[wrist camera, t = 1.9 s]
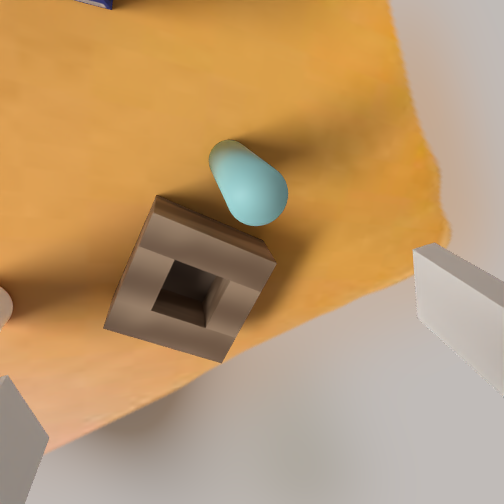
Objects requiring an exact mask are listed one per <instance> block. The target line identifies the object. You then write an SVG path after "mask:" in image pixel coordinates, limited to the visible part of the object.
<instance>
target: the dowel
mask: <svg viewBox="0 0 504 504" xmlns="http://www.w3.org/2000/svg"><path fill="white" fill-rule="evenodd" d="M209 166H210V169H211V171H212V173H213V176H214V178H215V180H216V182H217V184H218V186H219V188H220V191H221V193H222V195H223V197H224V199H225V201H226V203H227V206H228V208H229V210H230V212H231V213H232V215H233V216H234V217H235V218H236V219H237V220H238V221H240V222H242V223H244V224H246V225H250V226H261V225H265V224H268V223H270V222H272V221H274V220H275V219H276V218H277V217H278V216H279V215H280V214H281V213H282V212H283V210H284V208H285V206H286V203H287V199H288V188H287V184H286V181H285V179H284V178H283V176H282V175H281V174H280V173H279V172H278V171H277V170H276V169H274V168H273V167H272V166H270V165H269V164H268V163H266V162H265V161H264V160H262V159H261V158H260V157H258V156H257V155H256V154H254V153H253V152H252V151H250V150H249V149H248V148H246V147H245V146H244V145H242V144H241V143H239V142H237V141H234V140H224V141H221V142H219V143H218V144H216V145H215V146H214V147H213V149H212V150H211V153H210V156H209Z"/></svg>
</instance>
